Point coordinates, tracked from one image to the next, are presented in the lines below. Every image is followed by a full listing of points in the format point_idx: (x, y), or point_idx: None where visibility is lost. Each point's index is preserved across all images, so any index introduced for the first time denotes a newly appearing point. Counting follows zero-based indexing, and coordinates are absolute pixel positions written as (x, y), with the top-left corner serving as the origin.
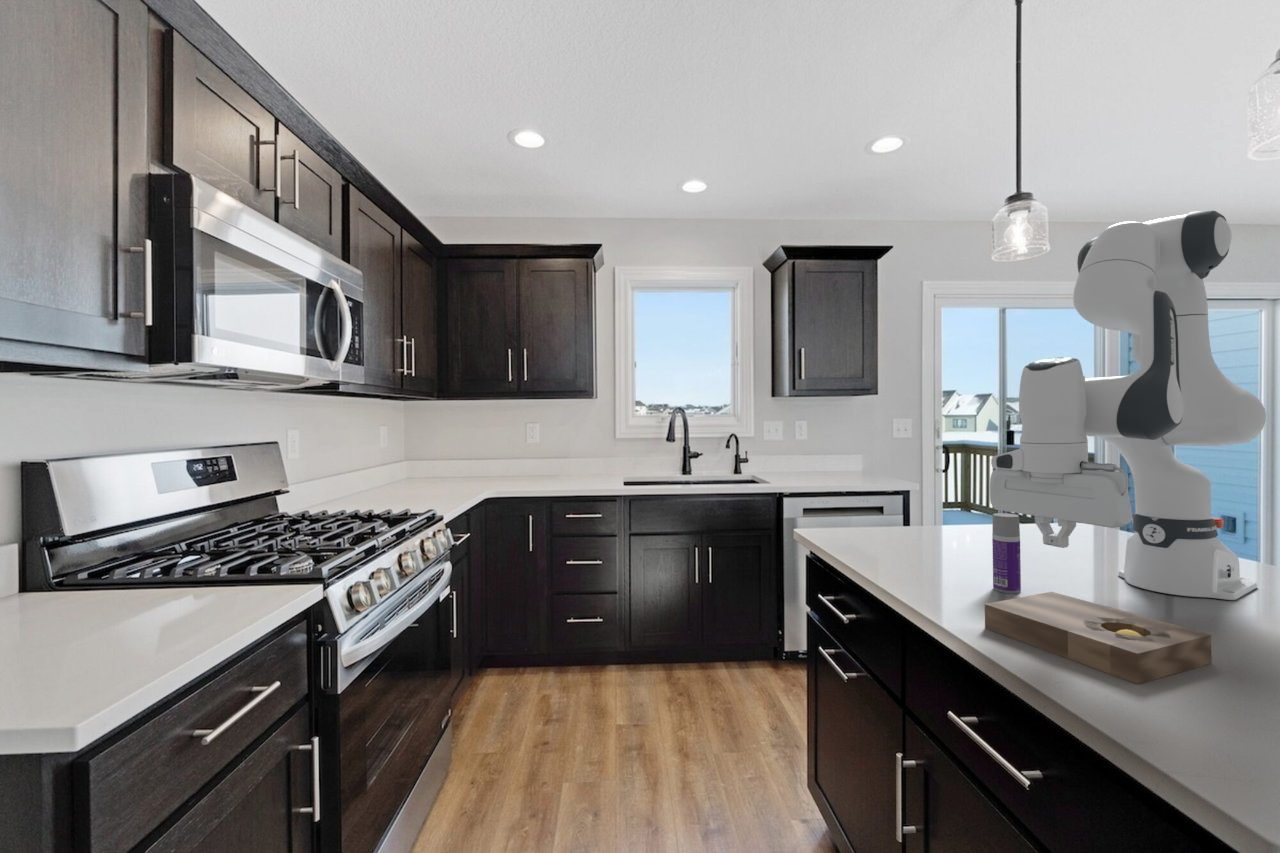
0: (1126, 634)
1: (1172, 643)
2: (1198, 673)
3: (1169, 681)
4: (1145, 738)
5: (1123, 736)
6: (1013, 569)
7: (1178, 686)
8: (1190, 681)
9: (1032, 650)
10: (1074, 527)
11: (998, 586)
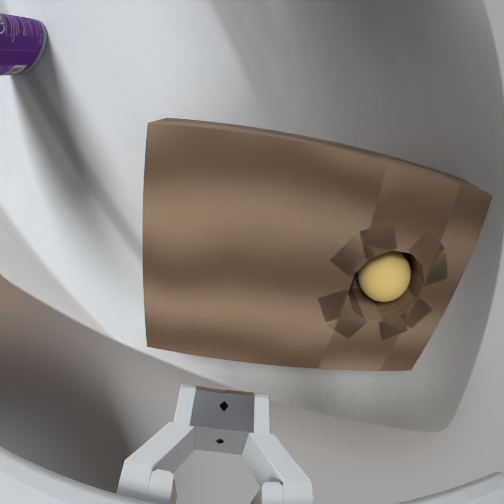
0: (390, 299)
1: (449, 298)
2: None
3: None
4: (404, 415)
5: (392, 423)
6: (3, 51)
7: None
8: None
9: None
10: (304, 477)
11: (14, 74)
